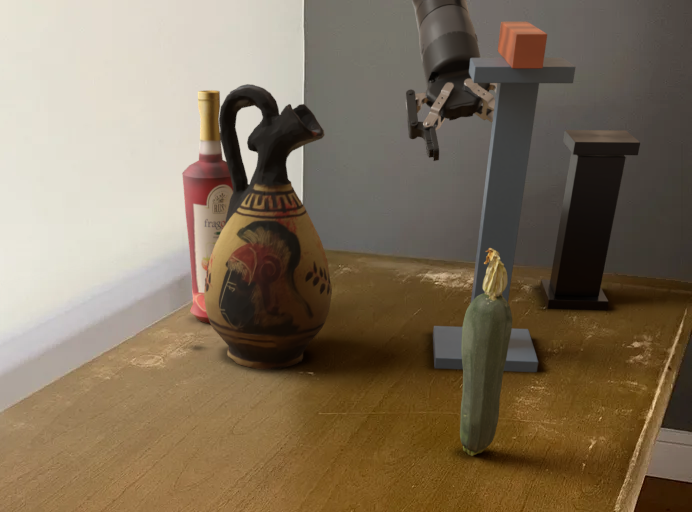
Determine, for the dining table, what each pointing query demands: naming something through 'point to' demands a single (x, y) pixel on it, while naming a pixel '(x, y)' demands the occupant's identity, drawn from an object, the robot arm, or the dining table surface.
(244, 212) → the ceramic jug
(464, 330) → the vegetable
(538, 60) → the orange rectangular block
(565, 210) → the pedestal
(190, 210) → the liquor
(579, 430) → the dining table surface
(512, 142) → the blue display stand
